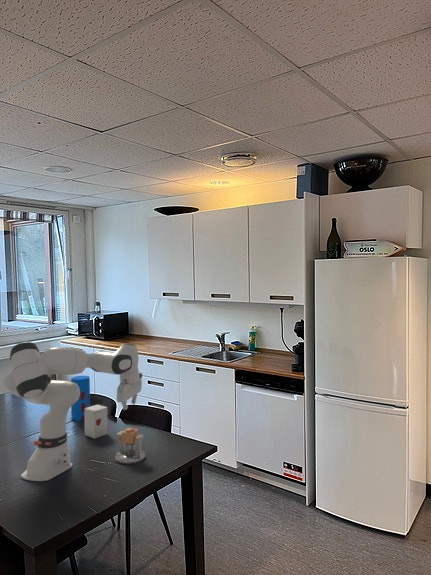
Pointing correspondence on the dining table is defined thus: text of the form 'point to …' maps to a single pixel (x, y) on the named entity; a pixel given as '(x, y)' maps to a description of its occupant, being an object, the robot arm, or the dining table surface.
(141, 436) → the pronged peg stand
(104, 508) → the dining table surface
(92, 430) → the supplement box
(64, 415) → the robot arm
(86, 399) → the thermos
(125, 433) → the orange lumpy block
